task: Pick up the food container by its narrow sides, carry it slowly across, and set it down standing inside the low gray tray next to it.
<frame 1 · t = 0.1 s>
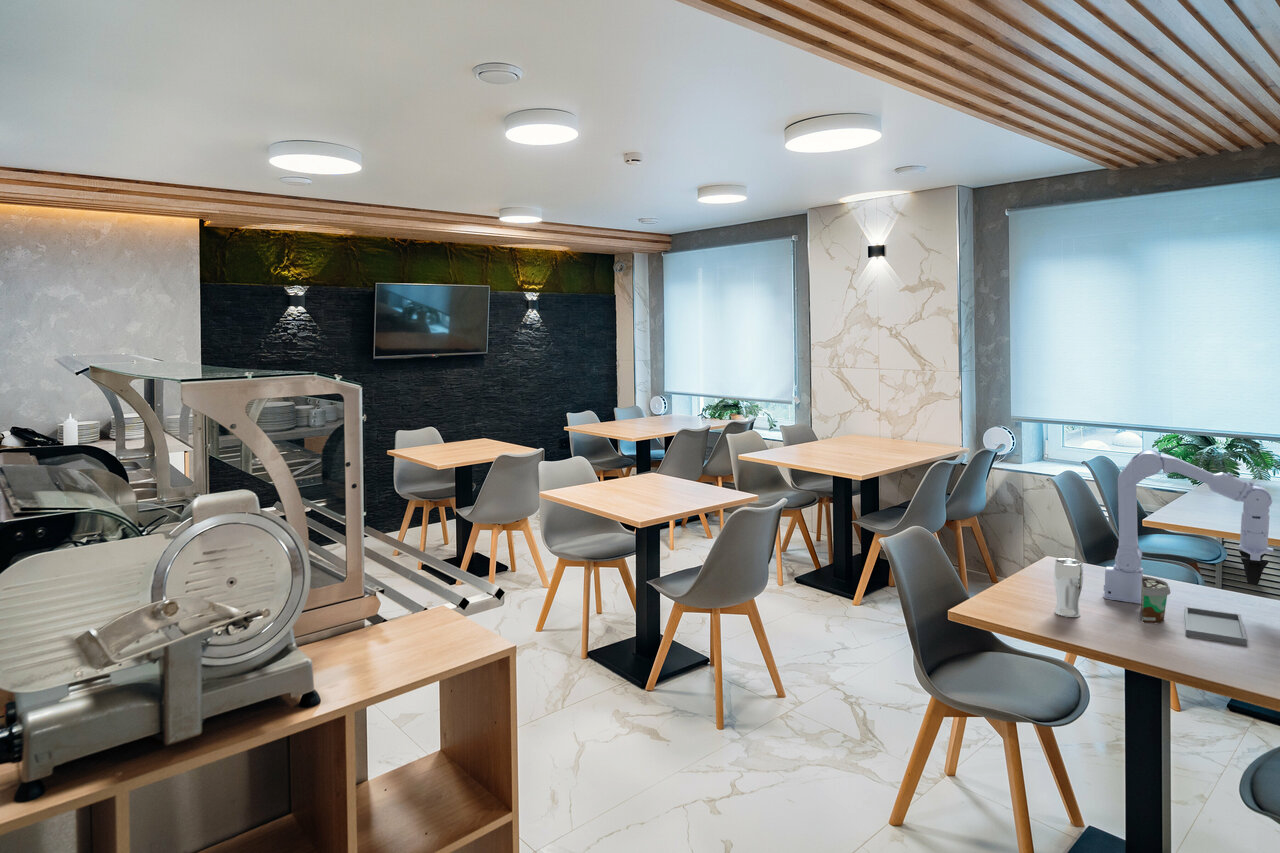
hand: (1251, 580, 198), 10 cm above the table, tool pointing down, fingers open, 7 cm apart
beer glass: (1067, 614, 204), on the table
gray tray: (1213, 627, 192), on the table
food container: (1155, 619, 199), on the table
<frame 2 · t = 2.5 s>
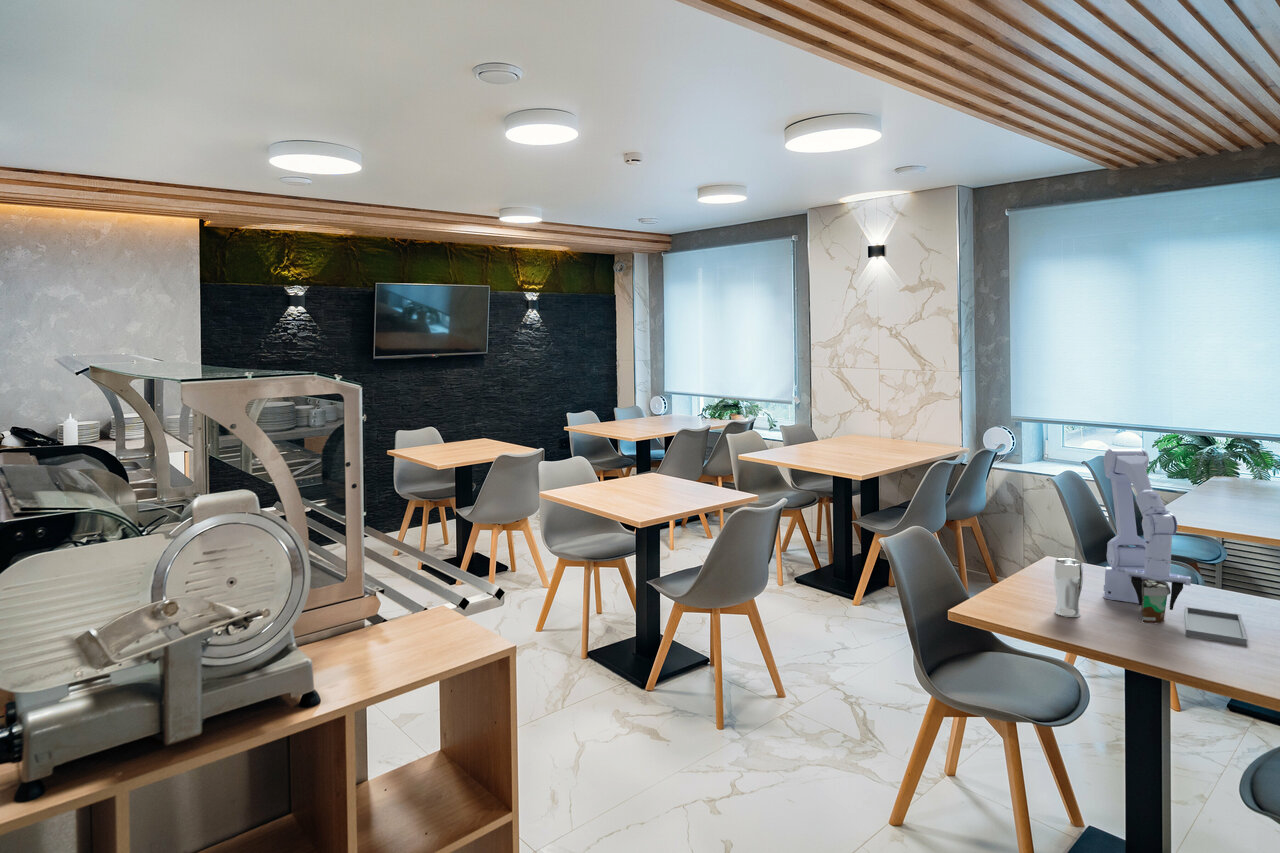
hand: (1155, 606, 199), 3 cm above the table, tool pointing down, fingers open, 6 cm apart
food container: (1155, 619, 199), on the table, touching gripper
everything else where it was.
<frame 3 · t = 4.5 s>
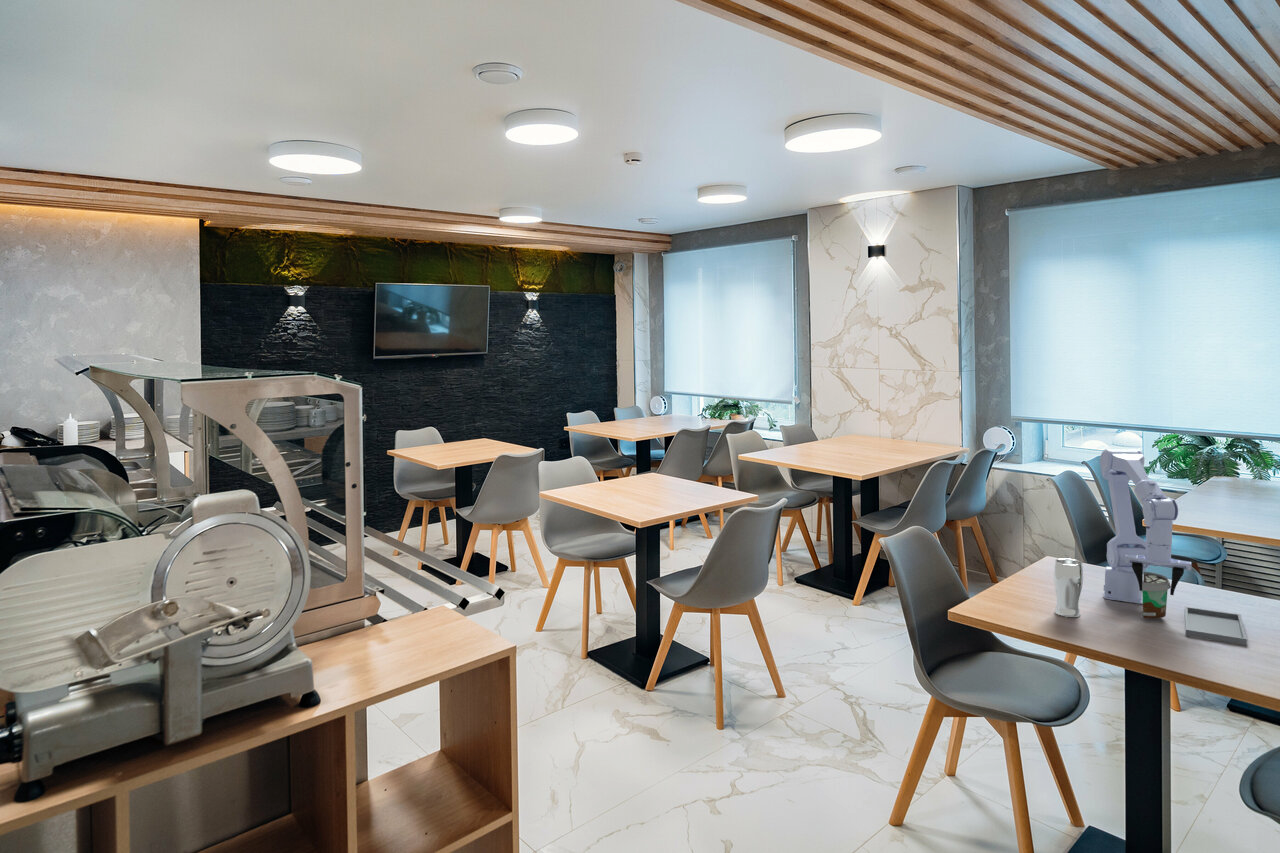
hand: (1156, 592, 198), 7 cm above the table, tool pointing down, fingers closed on food container, 6 cm apart
food container: (1157, 614, 199), point 1 cm above the table, touching gripper
everything else where it was.
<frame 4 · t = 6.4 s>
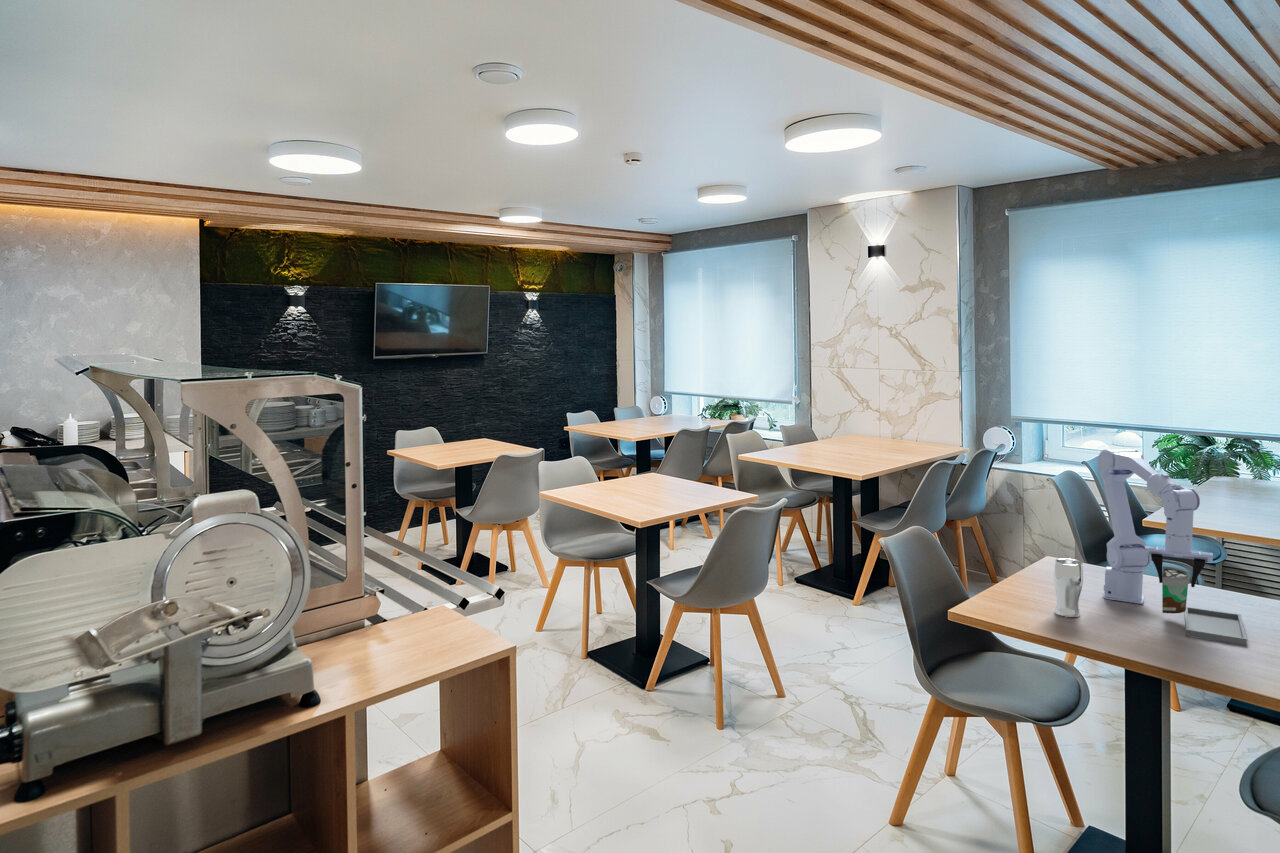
hand: (1176, 584, 195), 10 cm above the table, tool pointing down, fingers closed on food container, 6 cm apart
food container: (1176, 609, 196), point 3 cm above the table, touching gripper
everything else where it was.
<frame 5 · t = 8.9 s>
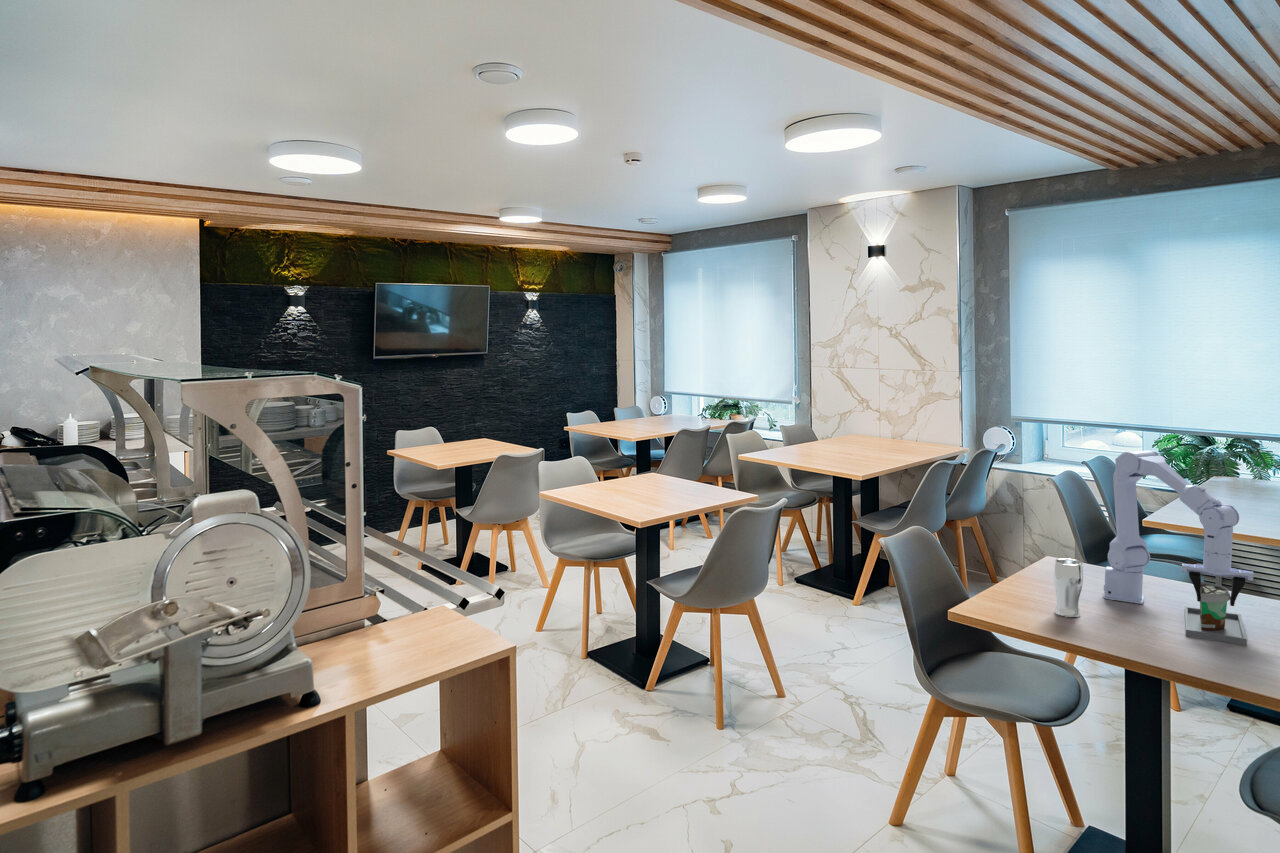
hand: (1215, 602, 191), 7 cm above the table, tool pointing down, fingers closed on food container, 6 cm apart
food container: (1215, 626, 191), resting on gray tray, touching gripper
everything else where it was.
when the fingers open (5 cm above the table, at t = 10.7 s): food container stays where it is, resting on gray tray.
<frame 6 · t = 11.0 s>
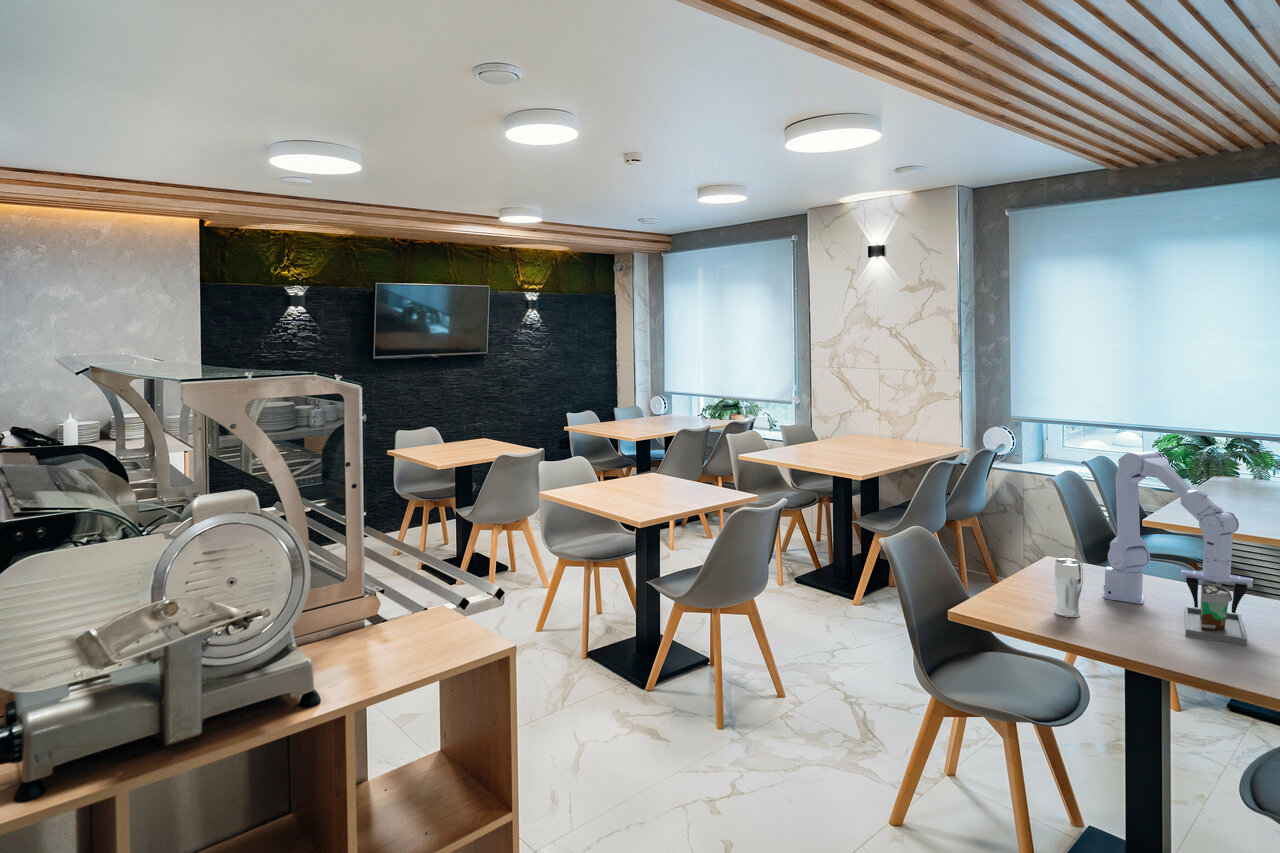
hand: (1214, 609, 191), 5 cm above the table, tool pointing down, fingers open, 7 cm apart
food container: (1215, 627, 191), resting on gray tray
everything else where it was.
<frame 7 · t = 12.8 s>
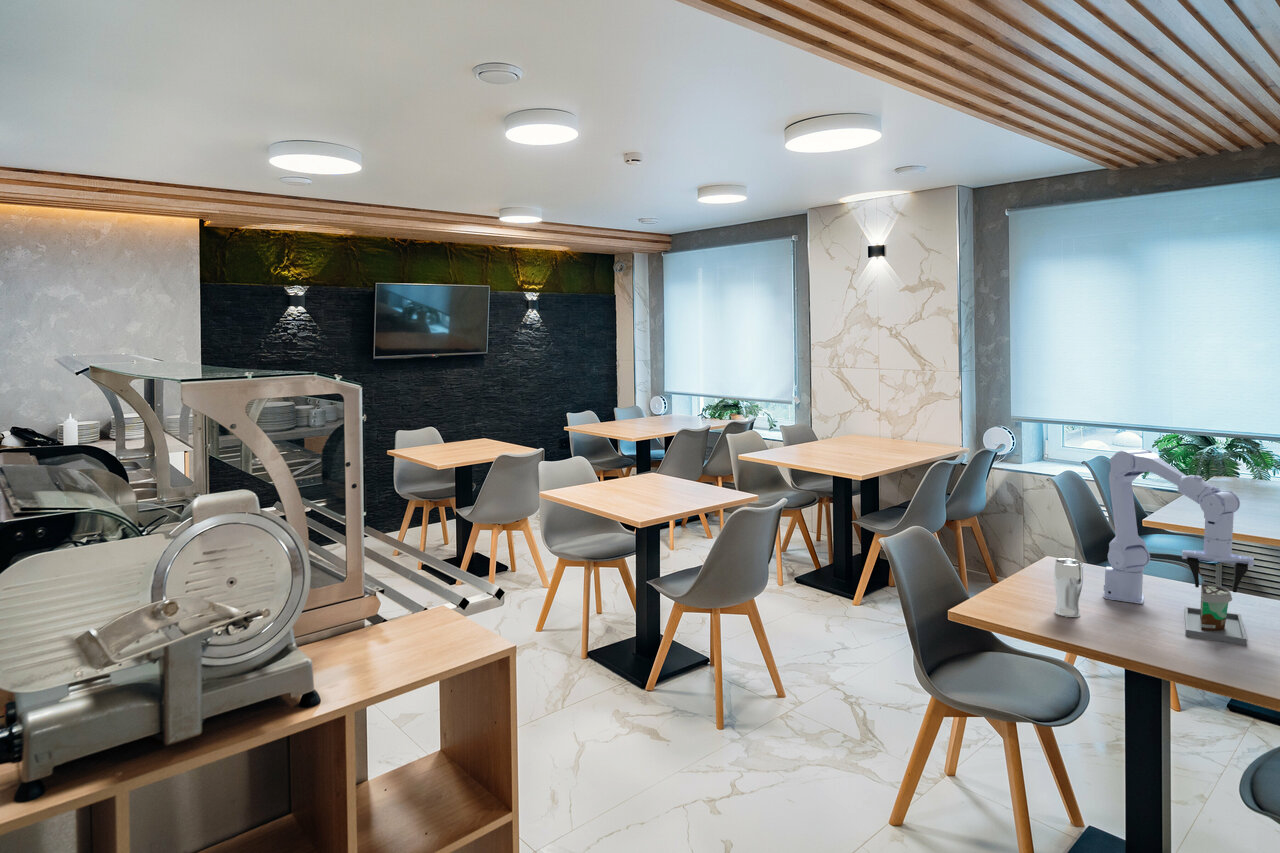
hand: (1215, 588, 191), 10 cm above the table, tool pointing down, fingers open, 7 cm apart
nothing on the table moved.
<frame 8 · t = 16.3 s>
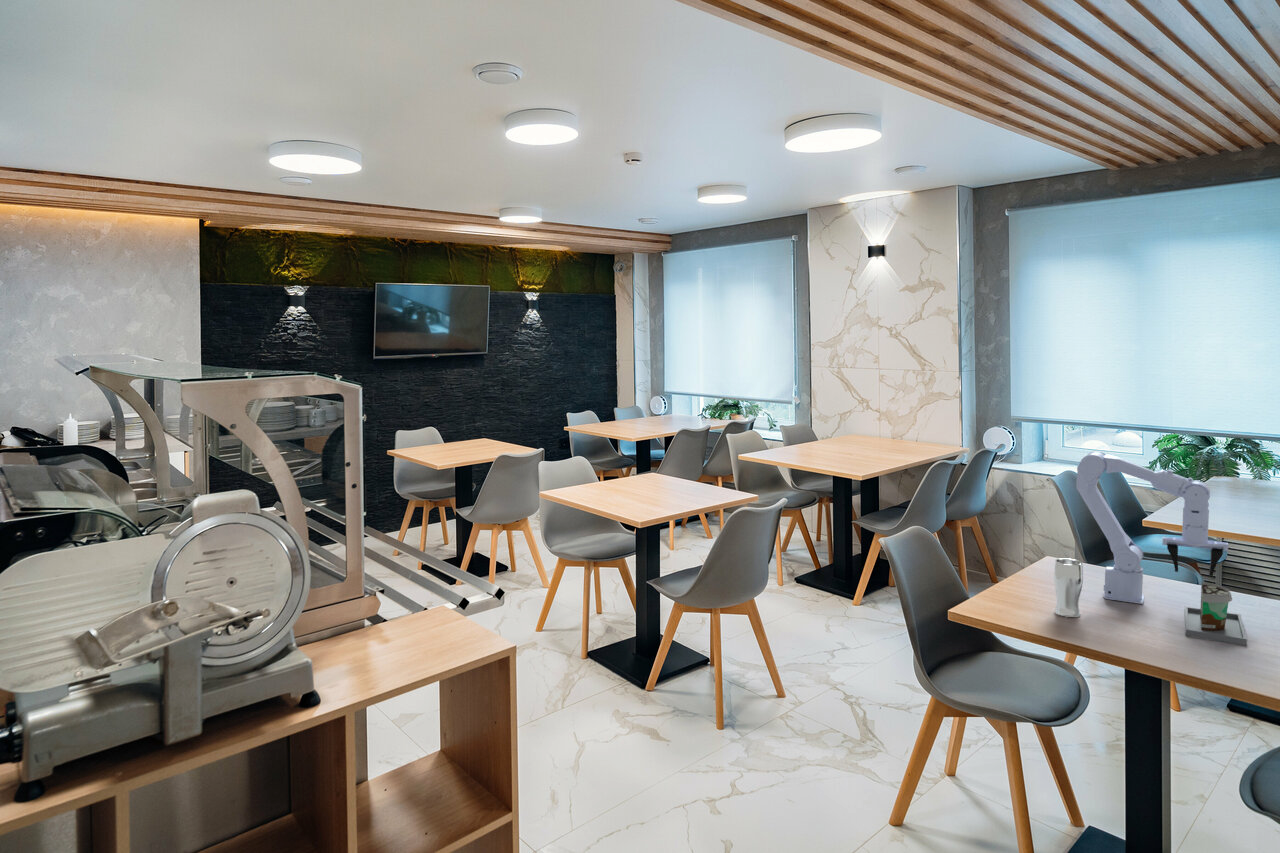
hand: (1193, 572, 204), 10 cm above the table, tool pointing down, fingers open, 7 cm apart
nothing on the table moved.
at the end: food container inside the target area on the gray tray (0.4 cm from its centre), point 0.2 cm above the gray tray's base; food container tilted 0°; the gripper is holding nothing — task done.
